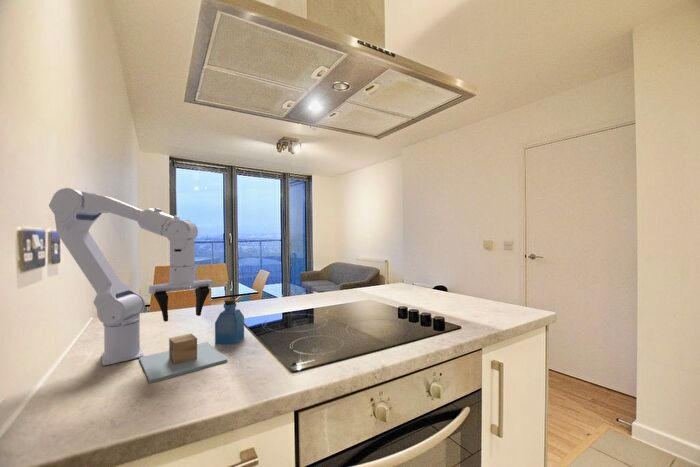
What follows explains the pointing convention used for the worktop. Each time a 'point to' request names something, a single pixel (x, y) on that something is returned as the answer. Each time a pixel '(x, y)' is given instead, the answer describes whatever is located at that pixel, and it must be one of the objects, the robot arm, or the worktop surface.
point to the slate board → (164, 368)
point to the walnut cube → (182, 348)
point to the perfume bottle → (229, 324)
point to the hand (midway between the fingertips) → (182, 317)
